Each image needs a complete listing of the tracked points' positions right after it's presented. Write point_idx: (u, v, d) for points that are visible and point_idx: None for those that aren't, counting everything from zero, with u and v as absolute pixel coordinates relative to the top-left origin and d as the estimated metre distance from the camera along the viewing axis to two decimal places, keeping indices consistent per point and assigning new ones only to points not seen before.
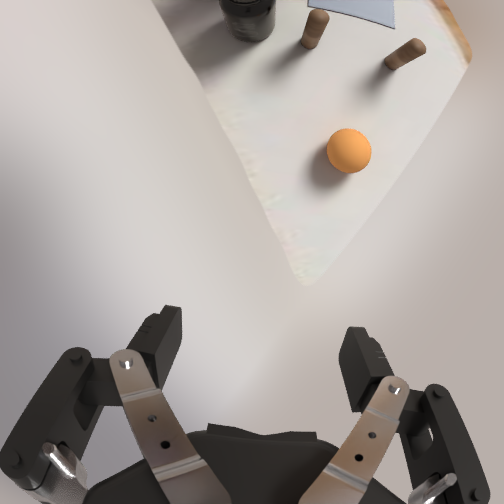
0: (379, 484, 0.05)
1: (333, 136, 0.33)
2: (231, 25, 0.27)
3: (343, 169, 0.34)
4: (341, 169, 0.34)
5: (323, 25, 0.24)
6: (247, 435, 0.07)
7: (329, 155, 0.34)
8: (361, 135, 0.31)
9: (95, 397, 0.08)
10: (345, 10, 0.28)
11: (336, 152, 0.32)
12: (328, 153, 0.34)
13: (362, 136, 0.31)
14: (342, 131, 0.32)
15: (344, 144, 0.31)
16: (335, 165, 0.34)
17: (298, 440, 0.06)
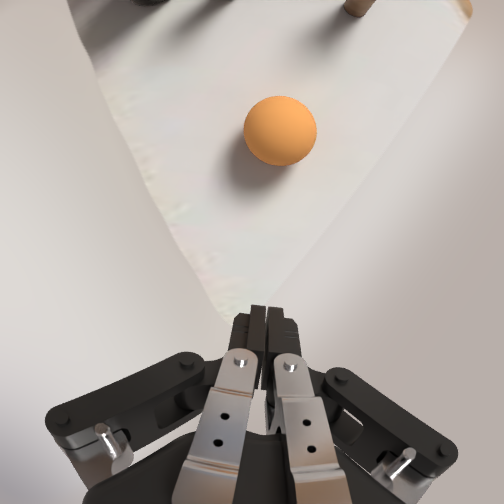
0: (379, 484, 0.05)
1: (251, 109, 0.21)
2: None
3: (267, 160, 0.21)
4: (265, 160, 0.22)
5: None
6: (247, 435, 0.07)
7: (245, 140, 0.22)
8: (295, 103, 0.19)
9: (203, 401, 0.09)
10: None
11: (251, 133, 0.20)
12: None
13: (298, 104, 0.19)
14: (264, 100, 0.20)
15: (263, 119, 0.19)
16: (255, 155, 0.22)
17: None
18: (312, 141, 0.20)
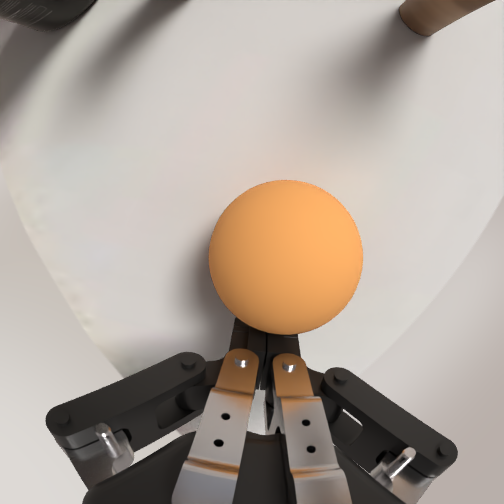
0: (379, 484, 0.05)
1: (225, 210, 0.11)
2: None
3: (262, 324, 0.09)
4: (256, 325, 0.10)
5: None
6: (247, 435, 0.07)
7: (212, 277, 0.10)
8: (321, 189, 0.10)
9: (204, 401, 0.09)
10: None
11: (224, 258, 0.09)
12: (210, 271, 0.11)
13: (326, 192, 0.10)
14: (253, 187, 0.10)
15: (252, 220, 0.09)
16: (234, 312, 0.10)
17: None
18: (359, 274, 0.10)
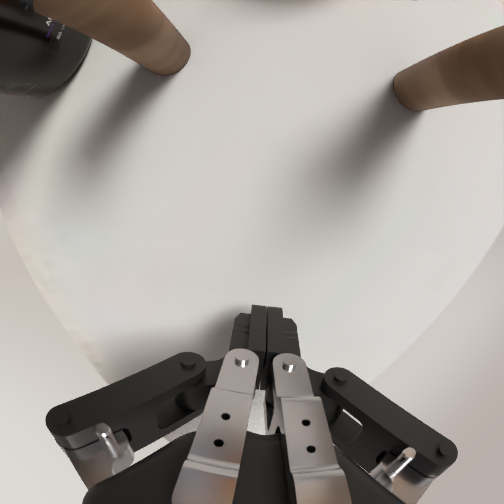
0: (379, 484, 0.05)
1: None
2: None
3: None
4: None
5: (85, 5, 0.04)
6: (247, 435, 0.07)
7: None
8: None
9: (204, 401, 0.09)
10: None
11: None
12: None
13: None
14: None
15: None
16: None
17: None
18: None
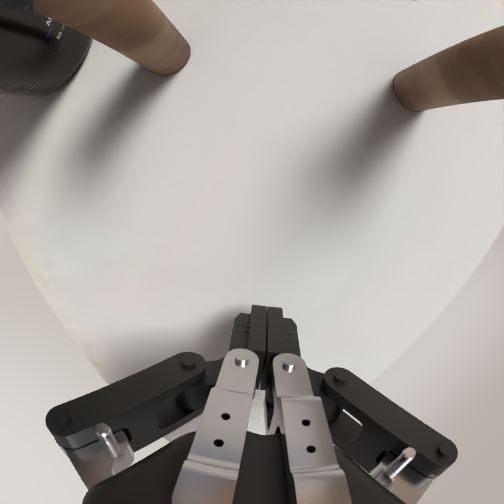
0: (379, 484, 0.05)
1: None
2: None
3: None
4: None
5: (85, 5, 0.04)
6: (247, 435, 0.07)
7: None
8: None
9: (204, 401, 0.09)
10: None
11: None
12: None
13: None
14: None
15: None
16: None
17: None
18: None
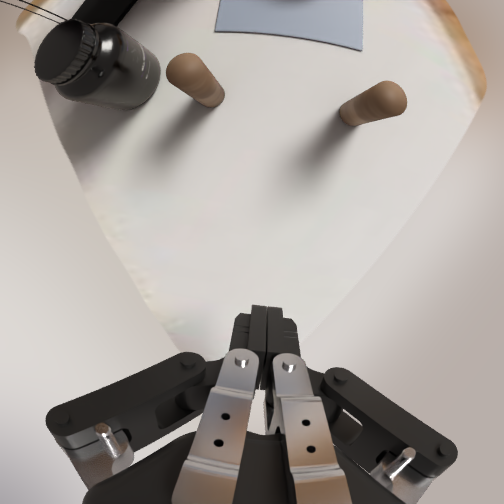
0: (379, 484, 0.05)
1: None
2: None
3: None
4: None
5: (194, 85, 0.15)
6: (247, 435, 0.07)
7: None
8: None
9: (204, 401, 0.09)
10: (277, 29, 0.20)
11: None
12: None
13: None
14: None
15: None
16: None
17: None
18: None
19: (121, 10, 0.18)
